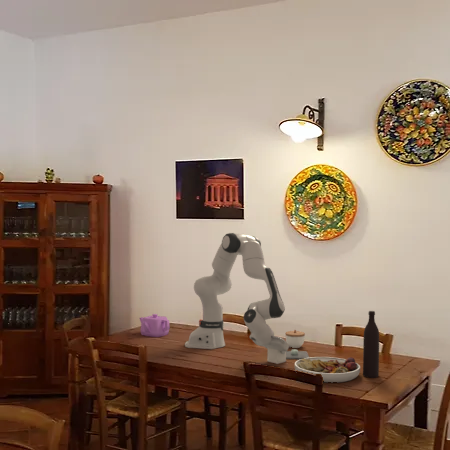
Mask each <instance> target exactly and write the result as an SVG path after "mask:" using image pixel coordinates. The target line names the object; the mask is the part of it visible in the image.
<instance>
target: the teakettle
mask: <svg viewBox="0 0 450 450" xmlns="http://www.w3.org/2000/svg"><path fill="white" fill-rule="evenodd" d="M139 321H140V334H141V336H145V337H151V338H152V337H153V338H160V337H164V336H167V335H169V331H170V320H169V319H168V317H167V316H161V315H158V313H152V315H148V316H145V317H144V316H143V317H142V316H141V317H139Z"/></svg>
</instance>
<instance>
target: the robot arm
mask: <svg viewBox="0 0 450 450" xmlns="http://www.w3.org/2000/svg"><path fill="white" fill-rule="evenodd" d="M238 256H241V258H242V268H243V271H244V274H245V275H246V276H247V277H249V278H252V279H254V280H260V281H264V282H265V284H266V287H267V291H268V293H269V294H268V295H269V298H266V299H263V300H257V301H254V302H251V303H249V305H248V307H247V310H246V311H245V312H244V314H243V321H244V323H245V326H246V327H247V329H248V330H249V331H250V335H249V339H250V340H252V341H253V343H254V344H255V345H256V346H259V347H264V348H265V349H267V350H268V348H271V349H276V350H280V351H281V354H285V352H286V351H288V350H289V349H290V347H289V344H288V343H287V342H286V339H284V338H282V337H281V336H276V335H275V331H274V330H273V329H272V327H271V326H270V325H269V324H268V323H267V322H266V321H267V320H270V319H277V318H281V317H282V316H283V315H284V312H285V309H286V308H285V307H286V306H285V305H284V304H285V303H284V301H283V299H282V297H281V294H280V292H279V291H280V290H279V288H278V285H277V281H276V279H275V275H274V272H273V271H272V269H271V268H270V267H268V266H267V264H266V263H265V257H264V253H263V250H262V241H261V240H260V238H258V237H257V236H253V235H249V234H244V233H234V232H229V233H226V234H225V235H223V237H222V239H221V244H220V245H219V247H218V249H217V251H216V254H215V256H214V257H213V261H212V262H211V267H212V269H213V273H212V274H211V275H208V276H203V277H200V278H198V279H196V280H195V282H194V284H193V290H194V293H195V294H196V295H197V296H198V297H199V299H200V302H201V307H202V319H199V320H198V327H197V328H196V329H195V330H193V331H191V333H190V334H189V338H188V341H186V342H185V343H184V347H185V348H189V349H203V350H204V349H205V350H214V349H218V348H223V347H225V346H226V342H225V339H224V338H225V337H224V325H225V324H224V320H223V316H224V315H223V312H224V309H223V305H222V304H221V303H220V302H219V300H218V295H223V294H226V293H228V292H229V291H230V290H231V288H232V285H233V284H232V280H231V278H230V277H231V276H230V275H231V271H232V269H233V267H234V264H235V262H236V260H237V257H238Z"/></svg>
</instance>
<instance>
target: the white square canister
mask: <svg viewBox="0 0 450 450" xmlns="http://www.w3.org/2000/svg"><path fill="white" fill-rule="evenodd" d="M266 359H267V362H269V363H272V364H273V363H274V364H276V365H279V364H282V363H285V362H287V359H286V352H285V354H281V351H280V350H276V349H271V348H268V349H267V358H266Z"/></svg>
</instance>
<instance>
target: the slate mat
mask: <svg viewBox="0 0 450 450" xmlns="http://www.w3.org/2000/svg"><path fill="white" fill-rule="evenodd" d="M303 358H310V356H309V353H308V352H307V351H306V350H305V351H303V350H302V351H301V350H298V349H297V348H292V349H291V350H289V351H288V350H287V351H286V360H300V359H303Z"/></svg>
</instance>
